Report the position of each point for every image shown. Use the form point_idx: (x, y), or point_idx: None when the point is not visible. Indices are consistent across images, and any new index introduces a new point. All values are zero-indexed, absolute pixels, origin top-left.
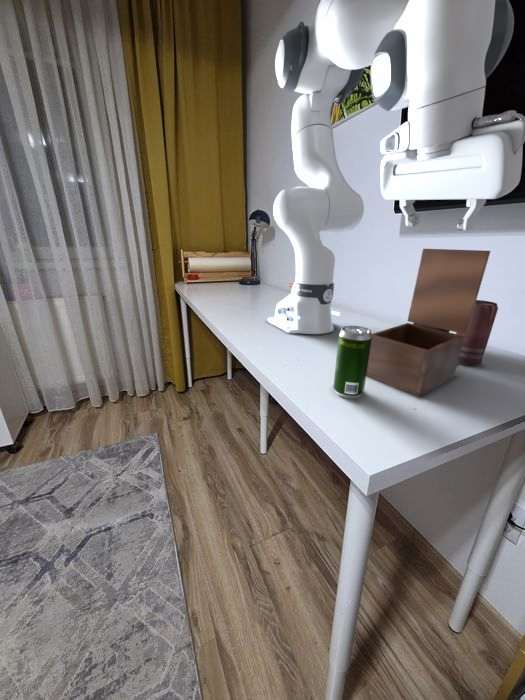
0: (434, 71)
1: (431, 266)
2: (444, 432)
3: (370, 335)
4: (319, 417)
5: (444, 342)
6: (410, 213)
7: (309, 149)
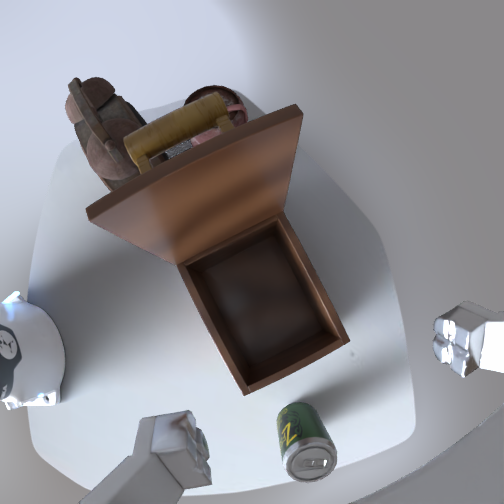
0: None
1: (154, 216)
2: (395, 347)
3: (329, 445)
4: (341, 460)
5: (311, 280)
6: (166, 485)
7: None
